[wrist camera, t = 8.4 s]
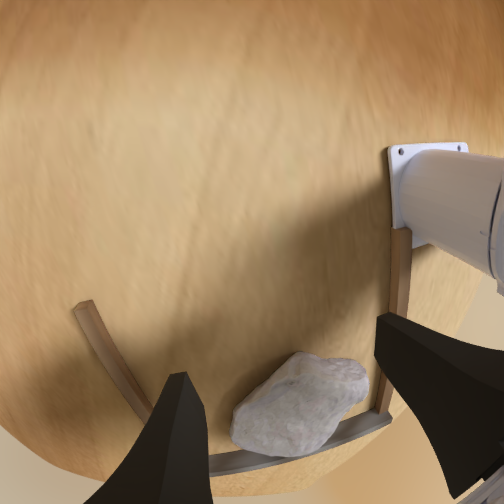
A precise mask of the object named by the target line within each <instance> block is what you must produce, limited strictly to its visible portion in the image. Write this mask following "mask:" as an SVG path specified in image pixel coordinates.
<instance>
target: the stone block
mask: <svg viewBox="0 0 504 504" xmlns="http://www.w3.org/2000/svg"><path fill="white" fill-rule="evenodd" d="M369 384H370V383H369V379H368V376H367V373H366V369H365V368H364V367H363V366H362V365H361V364H359V363H358V362H357V361H355V360H351V359H343V358H338V359H337V358H329V359H323V358H320V357H318V356H315V355H314V354H310V353H305V352H296V353H295V354H294V355H293V356H291V357H290V358H288V360H287V361H286V362H285V363H284V364H283V365H282V366H281V367H280V368H278V369H277V370H276V371H275V372H274V373H273V374H272V375H271V376H270V378H268V379H267V380H266V381H264V382H263V383H262V384H261V385H259V386H257V387H256V388H255V389H254V390H253V391H252V392H251V393H250V394H249V395H247V396H246V397H245V398H244V400H243V401H242V402H240V403H239V404H238V405H236V407H235V408H234V409H233V420H232V422H231V425H230V429H229V434H230V437H231V440H232V442H233V443H235V444H236V445H238V446H239V447H241V448H243V449H245V450H247V451H253V452H257V453H261V454H265V455H268V456H271V457H272V456H283V457H295V456H303V455H306V454H310V453H312V452H314V451H316V450H317V449H319V448H320V447H321V446H322V445H323V444H324V443H325V442H326V441H327V440H328V438H329V437H331V435H332V434H333V433H334V431H335V430H336V428H337V426H338V424H339V422H340V420H341V419H342V417H343V416H344V415H345V413H346V412H348V411H349V410H350V409H351V408H352V407H353V406H354V405H355V404H357V403H359V402H361V401H363V400H364V399H365V398H366V396H367V395H368V391H369Z"/></svg>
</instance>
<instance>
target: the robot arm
mask: <svg viewBox="0 0 504 504" xmlns="http://www.w3.org/2000/svg"><path fill="white" fill-rule="evenodd" d="M457 148H458V149H457ZM399 149H400V151H401V152H400V155H399V153H398V150H399ZM388 161H389V171H390V182H391V196H392V216H393V228H394V229H398V228H402V227H408V228H410V229H411V230H412V249H413V248H416V247H419V246H422V245H425V244H429V243H430V244H432V245H434V246H436V247H438V248H440V249H441V250H443V251H445V252H447V253H449V254H451V255H453V256H455V257H457V258H459V259H460V260H462V261H464V262H466V263H468V264H470V265H471V266H473V267H475V268H477V269H479V270H480V271H482V272H484V273H486V274H487V275H489V276H491V277H492V278H494V279H496V280H497V286H498V287H497V292H498V293H499V294H501V295H502V296H504V158H500V157H494V156H488V155H482V154H475V153H468V146H467V144H466V143H465V142H442V143H417V144H401V145H391V146H389V148H388ZM374 356H375V358H376V360H377V362H378V364H379V366H380V367H381V369H382V371H383V373H384V374H385V376H386V377H387V378H388V380H389V381H390V382H391V384H392V385H393V386H394V388H395V389H396V390H397V392H398V393H399V394H400V396H401V397H402V398H403V400H404V401H405V402H406V403H407V405H408V406H409V407H410V409H411V410H412V411H413V413H414V414H415V416H416V417H417V419H418V420H419V422H420V424H421V426H422V428H423V429H424V431H425V433H426V435H427V437H428V439H429V441H430V443H431V445H432V447H433V449H434V451H435V453H436V455H437V458H438V461H439V463H440V465H441V468H442V471H443V473H444V476H445V479H446V482H447V486H448V489H449V493H450V494H451V496H452V498H453V499H456V498H457V497H458V496H460V495H461V494H463V493H464V492H465V491H466V490H468V489H469V488H470V487H471V486H473V485H474V484H475V483H476V482H478V481H479V480H480V479H481V478H483V480H484V481H485V482H484V483H483V484H481V485H480V486H479V487H478V488H477V489H476V490H475V491H473V492H472V493H470V494H469V495H468V496H467V497H465V498H464V499H463V500H462V501H460V502H459V503H457V504H504V351H502V350H495V349H489V348H485V347H481V346H477V345H473V344H469V343H466V342H462V341H460V340H457V339H454V338H451V337H448V336H446V335H443V334H441V333H438V332H436V331H433V330H431V329H429V328H426V327H424V326H422V325H420V324H417V323H415V322H413V321H411V320H408V319H406V318H404V317H402V316H399V315H397V314H394V313H392V312H388V313H385V314H383V315H380V316H378V317H377V323H376V338H375V350H374ZM83 504H213V499H212V494H211V489H210V479H209V457H208V429H207V422H206V416H205V409H204V405H203V403H202V401H201V399H200V397H199V396H198V394H197V392H196V390H195V388H194V386H193V384H192V382H191V380H190V378H189V376H188V374H187V372H181V373H175V374H170V376H169V377H168V379H167V382H166V384H165V386H164V388H163V390H162V392H161V395H160V397H159V399H158V401H157V403H156V405H155V407H154V409H153V411H152V413H151V415H150V417H149V419H148V421H147V423H146V425H145V426H144V428H143V430H142V432H141V433H140V435H139V437H138V439H137V440H136V442H135V444H134V445H133V447H132V448H131V450H130V451H129V453H128V454H127V456H126V457H125V458H124V460H123V461H122V463H121V464H120V465H119V466H118V468H117V469H116V470H115V471H114V473H113V474H112V475H111V476H110V477H109V479H108V480H107V481H106V482H105V483H104V484H103V485H102V486H101V487H100V488H99V489H98V490H97V491H96V492H95V493H94V494H93V495H92V496H91V497H90V498H89V499H88V500H87V501H86V502H84V503H83Z"/></svg>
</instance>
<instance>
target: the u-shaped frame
mask: <svg viewBox="0 0 504 504" xmlns="http://www.w3.org/2000/svg"><path fill="white" fill-rule="evenodd" d="M411 263H412V230H411V229H410V228H408V227H402V228H398V229H394V228H393V227H391V281H390V300H389V312H392V313H394V314H397V315H399V316H402V317H404V318H407V310H408V301H409V291H410V279H411ZM74 313H75V315H76V317H77V319H78V321H79V323H80V325H81V327H82V329H83V331H84V333H85V335H86V336H87V338H88V340H89V342H90V344H91V345H92V347H93V349H94V351H95V352H96V354H97V356H98V357H99V359H100V361H101V362H102V364H103V366H104V367H105V369H106V370H107V372H108V374H109V375H110V377H111V378H112V380H113V381H114V383H115V384H116V386H117V387H118V389H119V390H120V392H121V393H122V395H123V396H124V397H125V399H126V400H127V402H128V403H129V404H130V406H131V407H132V408H133V410H134V411H135V413H136V414H137V415H138V416H139V418H140V419H141V420H142V422H143V423H144V424H145V425H146V423H147V421H148V419H149V417H150V415H151V413H152V411H153V409H154V408H153V407H152V405H151V404H150V402H149V401H148V399H147V398H146V396H145V395H144V393H143V392H142V390H141V389H140V387H139V386H138V384H137V382H136V381H135V379H134V378H133V376H132V374H131V373H130V371H129V369H128V368H127V366H126V364H125V362H124V361H123V359H122V357H121V355H120V354H119V352H118V350H117V348H116V346H115V344H114V343H113V341H112V339H111V337H110V335H109V333H108V331H107V329H106V327H105V325H104V323H103V321H102V319H101V317H100V315H99V313H98V311H97V309H96V306H95V304H94V302H93V300H89V301H84V302H80V303H79V304H78V305H77V307H76V308H75V310H74ZM393 389H394V386H393V385H392V384H391V382H390V381H389V380H388V378H387V377H386V376H385V374H384V373H383V371H382V372H381V378H380V384H379V389H378V395H377V400H376V405H375V408H373V409H371V410H369V411H367V412H364V413H362V414H359V415H357V416H355V417H352V418H350V419H347V420H344V421H342V422H339V424H338V426H337V428H336V430H335V431H334V433H333V434H332V435H331V437H329V438H328V440H327V441H326V442H325V443H324V444H323V445H322V446H321V447H320V448H319V449H317V450H316V451H314V452H312V453H310V454H306V455H303V456H295V457H283V456H272V457H271V456H268V455H265V454H261V453H257V452H253V451H247V450H240V451H234V452H229V453H223V454H216V455H209V456H208V457H209V477H215V476H223V475H229V474H236V473H241V472H247V471H252V470H257V469H262V468H266V467H270V466H275V465H279V464H283V463H286V462H290V461H294V460H297V459H301V458H304V457H307V456H310V455H314V454H317V453H320V452H323V451H326V450H328V449H331V448H334V447H337V446H339V445H342V444H345V443H347V442H350V441H352V440H355V439H357V438H360V437H362V436H364V435H367V434H369V433H371V432H373V431H375V430H378V429H380V428H382V427H384V426H386V425H388V424H390V423H391V422H392V419H393V418H392V416H391V415H390V413H389V412H388V408H389V404H390V401H391V397H392V393H393Z"/></svg>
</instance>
